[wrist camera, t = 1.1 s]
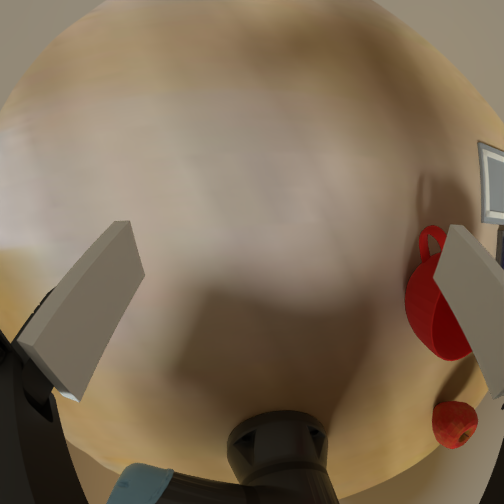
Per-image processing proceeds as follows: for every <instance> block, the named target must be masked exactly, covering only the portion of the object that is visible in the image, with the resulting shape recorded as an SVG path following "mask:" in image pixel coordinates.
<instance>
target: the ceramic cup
mask: <svg viewBox="0 0 504 504" xmlns="http://www.w3.org/2000/svg"><path fill="white" fill-rule="evenodd" d="M428 234H430V235H432V236H433V237H434V238H435V239H436V240H437V242H438V243H439V245H440V248H441V252H440V253H437V254H435V255H432V256H430V253H429V248H428ZM446 237H447V235H446V234H445V232H444V231H443V230H442V229H441V228H439V227H438V226H434V225H431V226H428V227H426V228H425V229H424V230H423V231H422V232H421V234H420V237H419V249H420V255H421V260H422V263H421V264H420V265H419V266H418V267H417V268H416V270H415V271H414V273H413V274H412V276H411V277H410V279H409V281H408V284H407V288H406V293H405V309H406V314H407V318H408V321H409V323H410V325H411V327H412V329H413V331H414V333H415V334H416V335H417V337H418V338H419V339H420V340H421V341H422V342H423V343H424V344H425V345H426V346H427V347H428V348H429V349H430V350H431V351H432V352H433V353H434V354H435V355H437V356H438V357H440V358H442V359H443V360H447V361H454V360H458V359H461V358H463V357H465V356H466V355H468V354H469V353H471V352H472V349H471V347H470V344H469V342H468V340H467V338H466V336H465V334H464V332H463V330H462V328H461V326H460V324H459V323H458V321H457V319H456V317H455V315H454V313H453V311H452V309H451V308H450V306H449V304H448V302H447V301H446V299H445V297H444V295H443V294H442V292H441V290H440V289H439V287H438V285H437V284H436V282H435V280H434V279H433V276H434V273H435V271H436V268H437V265H438V262H439V259H440V256H441V253H442V250H443V247H444V244H445V241H446Z"/></svg>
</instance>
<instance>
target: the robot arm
mask: <svg viewBox="0 0 504 504" xmlns="http://www.w3.org/2000/svg"><path fill="white" fill-rule="evenodd" d="M144 277H145V273H144V270H143V267H142V263H141V260H140V256H139V253H138V249H137V246H136V242H135V238H134V235H133V231H132V227H131V223H130V221H114V222H113V223H112V224H111V225H110V226H109V228H108V229H107V230H106V231H105V232H104V233H103V234H102V235H101V236H100V237H99V238H98V239H97V240H96V241H95V242H94V243H93V244H92V246H91V247H90V248H89V249H88V250H87V251H86V252H85V253H84V254H83V255H82V257H81V258H80V259H79V260H78V261H77V262H76V263H75V265H74V266H73V267H72V268H71V269H70V270H69V272H68V273H67V274H66V275H65V276H64V278H63V279H62V280H61V281H60V282H59V284H58V285H57V286H56V287H55V288H53V289H52V290H51V291H50V292H48V293H47V294H46V296H45V297H44V298H43V300H42V301H41V302H40V305H38V306H37V307H36V309H35V310H34V313H32V314H31V315H30V317H29V318H28V320H27V321H26V322H25V324H24V325H23V327H22V328H21V329H20V331H19V332H18V334H17V335H16V337H15V338H14V340H13V341H12V342H11V344H10V342H9V341H8V340H7V338H6V337H5V336H4V334H3V333H2V331H1V330H0V504H89V503H88V501H87V499H86V497H85V495H84V492H83V489H82V487H81V485H80V482H79V479H78V477H77V474H76V471H75V468H74V466H73V463H72V460H71V457H70V454H69V451H68V447H67V444H66V440H65V437H64V433H63V430H62V426H61V422H60V418H59V413H58V409H57V404H56V399H55V397H54V395H53V394H52V393H51V391H52V389H53V387H55V388H56V389H57V390H58V391H59V392H60V393H61V394H62V395H63V396H64V397H67V398H69V399H72V400H75V401H78V402H80V401H81V399H82V397H83V394H84V392H85V390H86V388H87V386H88V383H89V381H90V379H91V377H92V375H93V373H94V371H95V368H96V366H97V364H98V362H99V360H100V358H101V356H102V354H103V352H104V350H105V348H106V346H107V344H108V342H109V340H110V338H111V336H112V334H113V333H114V331H115V329H116V327H117V325H118V323H119V321H120V319H121V317H122V316H123V314H124V312H125V310H126V308H127V306H128V305H129V303H130V301H131V299H132V297H133V296H134V294H135V292H136V290H137V289H138V287H139V285H140V283H141V282H142V280H143V278H144ZM433 279H434V280H435V282H436V284H437V285H438V287H439V289H440V290H441V292H442V294H443V295H444V297H445V299H446V301H447V302H448V304H449V306H450V308H451V309H452V311H453V313H454V315H455V317H456V319H457V321H458V323H459V324H460V326H461V328H462V330H463V332H464V334H465V336H466V338H467V340H468V342H469V344H470V347H471V349H472V351H473V353H474V355H475V357H476V360H477V362H478V364H479V366H480V369H481V371H482V373H483V376H484V378H485V381H486V383H487V386H488V388H489V391H490V394H491V396H492V399H496V398H499V397H501V396H503V395H504V270H503V269H502V267H501V266H500V265H499V264H498V263H497V261H496V260H495V259H494V258H493V257H492V256H491V254H490V253H489V252H488V251H487V250H486V249H485V248H484V247H483V246H482V244H481V243H480V242H479V241H478V240H477V239H476V238H475V237H474V236H473V235H472V234H471V233H470V232H469V231H468V230H467V229H466V228H465V227H464V226H463V225H453V224H450V227H449V230H448V234H447V237H446V241H445V244H444V247H443V250H442V253H441V256H440V259H439V262H438V265H437V268H436V271H435V273H434V276H433ZM501 409H502V410H503V409H504V404H503V405H502V408H501ZM327 452H328V439H327V436H326V433H325V431H324V428H323V426H322V425H321V423H320V422H319V421H318V420H317V419H315V418H314V417H312V416H310V415H308V414H305V413H301V412H296V411H275V412H269V413H265V414H261V415H258V416H255V417H253V418H250V419H248V420H246V421H245V422H243V423H242V424H240V425H239V426H238V427H236V428H235V429H234V430H233V432H232V433H231V434H230V436H229V438H228V441H227V458H228V462H229V464H230V466H231V468H232V470H233V472H234V474H235V476H236V478H237V480H238V481H239V483H240V484H233V483H226V482H220V481H215V480H209V479H204V478H199V477H195V476H190V475H186V474H182V473H178V472H174V470H172V469H162V468H158V467H154V466H150V465H147V464H143V463H133V464H131V465H129V466H127V467H126V468H125V469H124V471H123V472H122V474H121V475H120V477H119V479H118V481H117V482H116V484H115V486H114V488H113V490H112V492H111V495H110V497H109V499H108V501H107V503H106V504H339V501H338V499H337V496H336V494H335V491H334V488H333V486H332V483H331V481H330V478H329V476H328V473H327V470H326V466H327ZM479 504H504V438H503V442H502V445H501V448H500V452H499V455H498V458H497V461H496V464H495V466H494V469H493V472H492V475H491V477H490V480H489V482H488V485H487V487H486V489H485V492H484V494H483V496H482V498H481V501H480V503H479Z"/></svg>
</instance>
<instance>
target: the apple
mask: <svg viewBox="0 0 504 504" xmlns="http://www.w3.org/2000/svg"><path fill="white" fill-rule="evenodd" d="M477 424H478V418H477V414H476V412H475V410H474V408H473V407H471V406H470V405H468V404H467V403H464V402H457V401H448V402H442V403H439V404H438V405H436V407H435V408H434V410H433V416H432V427H433V432H434V435H435V437H436V440H437V441H438V442H439V443H440V444H442V445H443V446H445V447H446V448H450V449H454V448H458V447H460V446H462V445H464V443H466V442H467V441H468V439H469V438H470V437H471V436H472V435H473V433H474V432H475V430H476V427H477Z"/></svg>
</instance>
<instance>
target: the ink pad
mask: <svg viewBox="0 0 504 504" xmlns="http://www.w3.org/2000/svg"><path fill="white" fill-rule="evenodd" d="M496 261H497V263H498V264H499V265H500V266H501V267H502V269H503V270H504V231H501V230H498V237H497V251H496Z"/></svg>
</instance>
